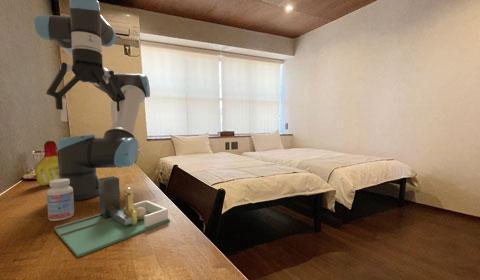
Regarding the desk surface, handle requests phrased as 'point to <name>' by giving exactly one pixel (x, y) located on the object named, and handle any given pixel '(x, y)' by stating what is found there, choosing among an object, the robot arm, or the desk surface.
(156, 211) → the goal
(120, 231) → the board
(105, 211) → the block
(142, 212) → the ball
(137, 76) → the robot arm
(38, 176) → the bottle
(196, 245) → the desk surface
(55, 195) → the pill bottle
